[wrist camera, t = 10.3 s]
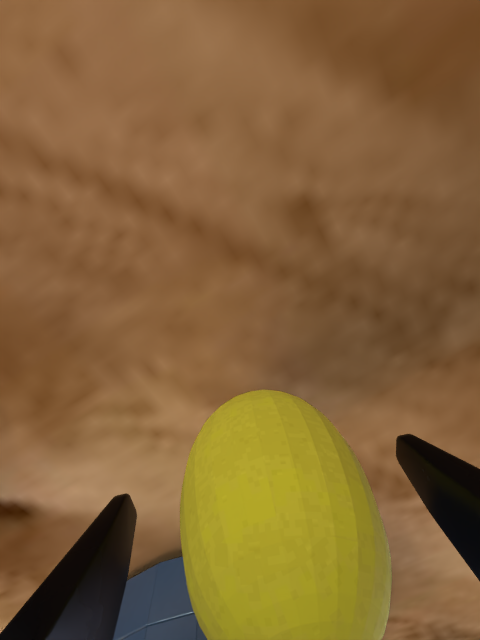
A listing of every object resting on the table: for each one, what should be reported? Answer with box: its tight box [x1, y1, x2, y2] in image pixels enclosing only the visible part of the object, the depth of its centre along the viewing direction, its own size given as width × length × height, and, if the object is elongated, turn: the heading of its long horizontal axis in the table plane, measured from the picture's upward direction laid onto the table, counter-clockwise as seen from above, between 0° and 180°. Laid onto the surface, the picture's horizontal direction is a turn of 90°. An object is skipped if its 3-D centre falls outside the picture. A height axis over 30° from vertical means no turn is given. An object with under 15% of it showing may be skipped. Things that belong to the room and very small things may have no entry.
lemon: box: [180, 390, 392, 640], centre depth 8 cm, size 6×6×8 cm
